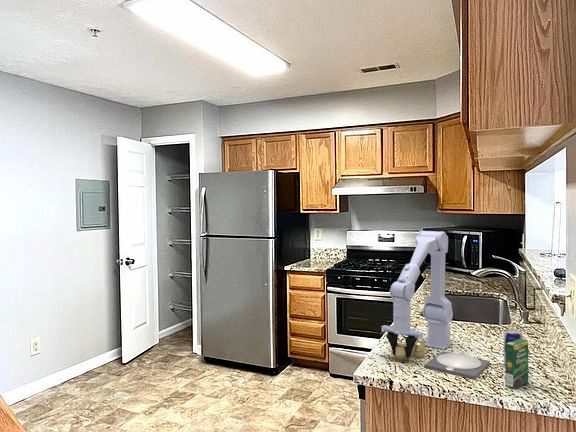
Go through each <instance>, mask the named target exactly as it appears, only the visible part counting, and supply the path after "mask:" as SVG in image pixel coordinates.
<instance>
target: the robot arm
mask: <svg viewBox="0 0 576 432" xmlns="http://www.w3.org/2000/svg"><path fill="white" fill-rule="evenodd" d="M415 243H416V247H415V248H414V251H413V253H412V254H413V255H412V257H411V258H410V261H409V263H406V264H405V265H404V267H403V269H402V271H401V272H400V275H399V277H398V278H397V281H394V282H393V283H392V284H391V285H390V289H389V294H390V297H391V302H392V303H393V305H392V306H393V310H392V312H393V313H392V315H393V317H392V319H393V322H392V323H393V325H385V324H384V325H381V332H382V333H387V334H386V339H387V340H388V342H389V345H390V348H391V352H392V355H393V356H395V344H398V342H399V341H398V340H399V335H400V336H405V338H404V341H405V344H406V348H407V350H406V356H407V358H411V357H412V350H413V347H414V344H415V342H416V340H423V339H424V332H423V331H419V330H416V329H413V328H411V299H413V297H414V295H415V288H416V282H417V280H418V278H419V276H420V274H421V271H420V267H421V266H422V265H423V262H424V260H425V259H426V257H427V255H428V254H429V255H430V284H429V285H430V286H429V287H430V291H429V292H430V293H429V294H430V295H429V297H428V298H426V299H425V300H424V303H423V307H422V315H423V317H424V319H425V322H427V341H426V342H425V347H430V348H435V349H440V350H446V349H447V348H449V347H450V346H451V345H453V341H451V325H450V322H452V320H453V316H454V312H453V307H452V302H451V301H450V300H449V299H448V298H447V297H446V296H445V295H446V294H445V293H446V291H445V288H446V287H445V285H446V283H445V282H446V254H447V253H448V252H449V251H448V250H449V236H448V235H447V233H446V232H445V231H435V230H433V231H432V230H419V231H418V233H417V234H416V237H415Z"/></svg>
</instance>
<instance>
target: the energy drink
mask: <svg viewBox="0 0 576 432" xmlns="http://www.w3.org/2000/svg"><path fill="white" fill-rule="evenodd" d="M503 334H504V336H503V337H504V338H503V339H504V340H503V341H504V342H503V343H504V344H503V348H504V349H503V366H504V368H505V369H506V343H509V342H512V341H515V340H517V339H520V338H521V339H524V338H523V332H522V331H520V330H516V329H506V330H504V333H503Z"/></svg>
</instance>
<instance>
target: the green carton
mask: <svg viewBox="0 0 576 432" xmlns="http://www.w3.org/2000/svg"><path fill="white" fill-rule="evenodd" d="M504 373H505V375H504V376H505V387H507V388H510V389H512V390H514V389H517V388H519V387H522V386H524V385H527V384H528V383H529V340H528V339H524V338H523V339H521V338H520V339H517V340H515V341H512V342H509V343H506V368H505V372H504Z"/></svg>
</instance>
